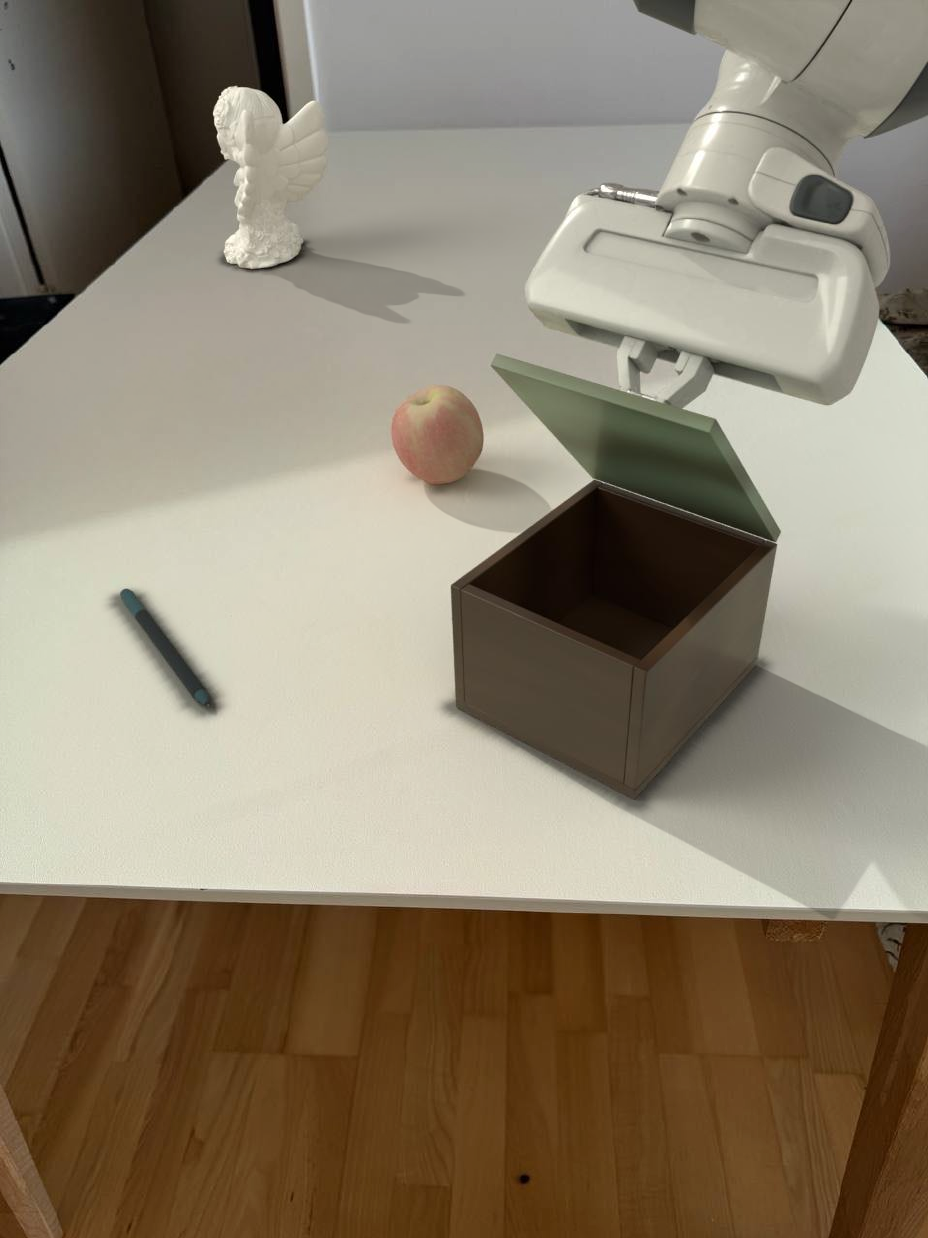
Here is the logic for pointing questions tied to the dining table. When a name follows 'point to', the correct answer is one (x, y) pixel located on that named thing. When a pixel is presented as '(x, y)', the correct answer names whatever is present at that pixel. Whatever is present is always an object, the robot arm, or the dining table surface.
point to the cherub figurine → (268, 171)
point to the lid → (643, 446)
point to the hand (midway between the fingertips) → (634, 428)
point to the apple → (437, 434)
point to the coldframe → (610, 631)
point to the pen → (165, 647)
